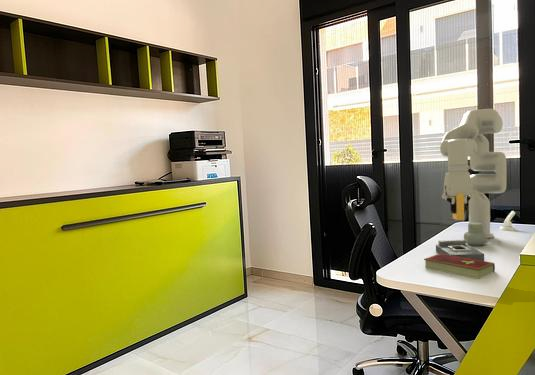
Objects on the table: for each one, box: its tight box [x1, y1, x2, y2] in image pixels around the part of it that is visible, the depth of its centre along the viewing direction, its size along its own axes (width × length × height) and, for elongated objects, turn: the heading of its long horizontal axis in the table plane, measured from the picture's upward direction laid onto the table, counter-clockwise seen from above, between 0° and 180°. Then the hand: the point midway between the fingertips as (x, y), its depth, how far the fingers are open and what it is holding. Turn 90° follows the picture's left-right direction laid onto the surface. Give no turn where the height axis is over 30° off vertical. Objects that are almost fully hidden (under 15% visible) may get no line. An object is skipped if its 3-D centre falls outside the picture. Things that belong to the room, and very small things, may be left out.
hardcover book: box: [423, 253, 496, 280], centre depth 153 cm, size 12×21×4 cm, turn 37°
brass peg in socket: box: [452, 193, 465, 221], centre depth 170 cm, size 4×3×11 cm, turn 175°
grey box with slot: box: [435, 239, 485, 261], centre depth 172 cm, size 18×13×5 cm
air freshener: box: [463, 222, 488, 246], centre depth 190 cm, size 11×8×10 cm
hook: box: [499, 210, 517, 232], centre depth 220 cm, size 8×12×7 cm
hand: (458, 212), depth 171 cm, fingers closed on brass peg in socket, 3 cm apart
